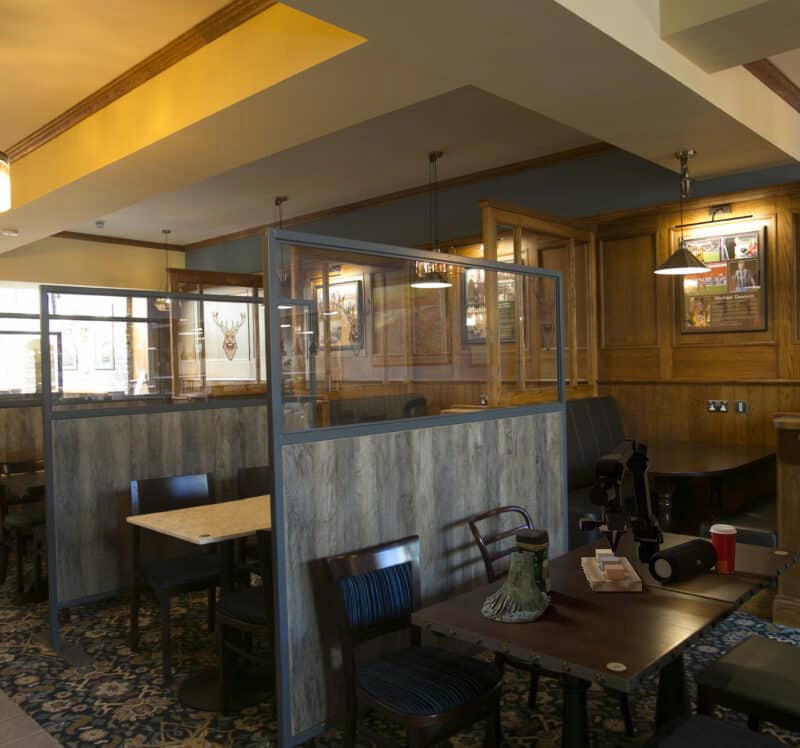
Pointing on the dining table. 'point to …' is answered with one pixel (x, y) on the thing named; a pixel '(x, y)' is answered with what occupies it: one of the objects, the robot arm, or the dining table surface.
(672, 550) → the portable speaker
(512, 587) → the tree stump
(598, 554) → the beige cube
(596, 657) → the dining table surface
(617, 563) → the grey cube
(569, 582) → the dining table surface
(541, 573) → the coffee jar
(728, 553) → the paper cup
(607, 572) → the brown cube
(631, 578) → the beige flat board
